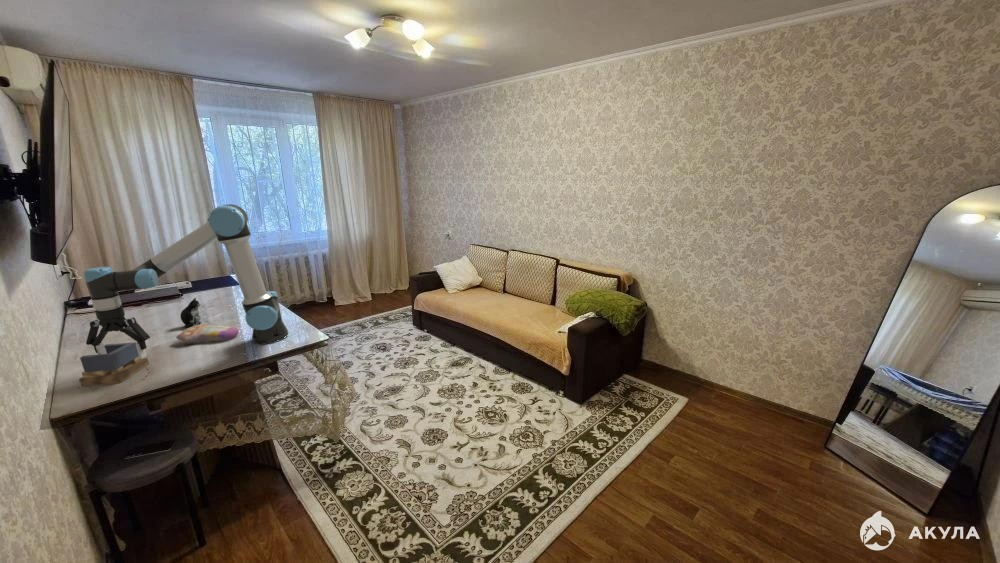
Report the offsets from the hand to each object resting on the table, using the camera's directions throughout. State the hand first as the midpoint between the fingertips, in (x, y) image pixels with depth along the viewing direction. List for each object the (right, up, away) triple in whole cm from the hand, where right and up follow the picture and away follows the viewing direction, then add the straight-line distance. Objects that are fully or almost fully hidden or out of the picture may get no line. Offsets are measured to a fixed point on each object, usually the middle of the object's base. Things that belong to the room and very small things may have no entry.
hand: (124, 358), depth 150 cm
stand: (-4, -7, +1) cm, 8 cm away
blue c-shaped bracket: (-4, -2, 0) cm, 4 cm away
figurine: (-13, +6, +50) cm, 53 cm away
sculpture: (+7, +2, +36) cm, 37 cm away
